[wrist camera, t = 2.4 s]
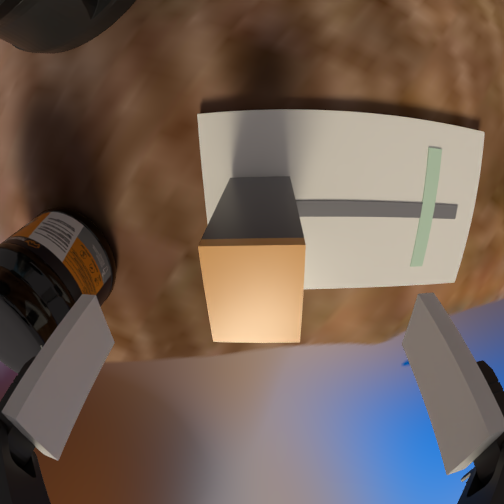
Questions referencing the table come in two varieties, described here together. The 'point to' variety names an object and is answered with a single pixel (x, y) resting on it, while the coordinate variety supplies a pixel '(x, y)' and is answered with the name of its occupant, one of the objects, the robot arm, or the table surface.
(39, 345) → the supplement container
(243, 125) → the fader console
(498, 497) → the robot arm
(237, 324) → the lever
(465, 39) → the table surface
